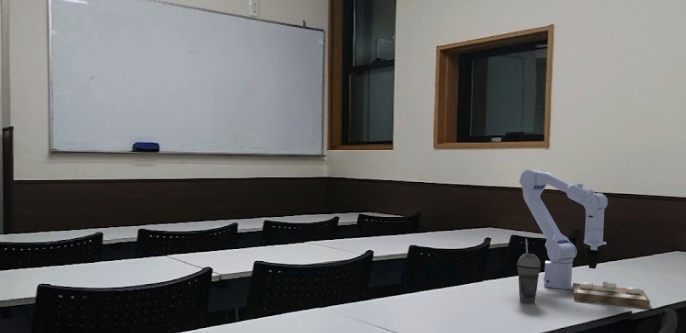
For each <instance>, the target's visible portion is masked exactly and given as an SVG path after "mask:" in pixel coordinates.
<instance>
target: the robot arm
mask: <svg viewBox="0 0 686 333" xmlns="http://www.w3.org/2000/svg"><path fill="white" fill-rule="evenodd" d="M519 185H520V186H521V191H522V196H523V200H524V201H525V203H526V205H527V207H528V209H529V211H530V212H531V214H532V217H534V219H535V222H536V223H537V225H538V226H539V229H540V230H541V231H542V233H543V236H544V237H545V239H546V241H545V244H544V247H545V248H546V251H547V256H548V258H549V260H545V261H544V276H543V278H542V279H543V280H542V281H543V284H544V285H543V286H544V287H545V288H556V289H564V290H573V282H572V278H573V262H574V259H575V258H576V256H577V254H578V250H577V247H576V246H575V244H574V243H572V242H571V241H570V240H569V238H568V237H567V236H565V235H564V234H563V233H561V231H560V229H559V228H558V226H557V224H556V222H555V221H554V219H553V216H552V215H551V213H550V212H549V210H548V208H547V206H546V205H545V203H544V202H543V200H542V198H541V195H542V193H543V192H544V189H546V186H547V185H548V186H551V187H552V188H555V189H557V190H560V191H561V192H564V193H566V196H567V198H569V199H570V200H572V201H575V202H576V203H578V204H580V205H582V206H583V208H584V209H585V226H584V239H583V244H585V245H588V246H584V251H585V253H586V257H587V264H588V268H589V269H593V270H596V269H597V266H598V262H599V261H598V260H599V257H600V255H601V254H602V252H603V247H602V246H603V245H607V242H606V241H604V224H605V223H604V222H605V221H604V220H605V209H606V208H607V207H608V204H609V200H608V197H607V196H606V195H605V194H603V192H595V190H594V189H589V188H587V187H585V186H583V185H584V184H582V183H580V182H578V183H576V182H575V183H572V184H571V183H569V182H567V181H565V180H563V179H562V178H560V177H558V176H557V175H554V174H553V173H552V172H549V171H546V170H544V169H538V170H537V169H534V170H531V169H525V170H523V171H522V172H521V175H520V178H519Z"/></svg>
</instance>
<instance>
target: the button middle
mask: <svg viewBox="0 0 686 333" xmlns="http://www.w3.org/2000/svg"><path fill="white" fill-rule="evenodd" d="M602 286H603V288H607V289H616V287H617V282H612V281H602Z"/></svg>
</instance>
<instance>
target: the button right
mask: <svg viewBox="0 0 686 333" xmlns="http://www.w3.org/2000/svg"><path fill="white" fill-rule="evenodd" d="M625 288H626V293H629V294H640V290H641V288H639V287H635V286H626V287H625Z"/></svg>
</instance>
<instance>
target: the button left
mask: <svg viewBox="0 0 686 333" xmlns="http://www.w3.org/2000/svg"><path fill="white" fill-rule="evenodd" d="M579 284H580V288H582V289H587V290H592V289H593V285H594V283H591V282H586V281H585V282H584V281H581V282H580V283H579Z"/></svg>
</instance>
